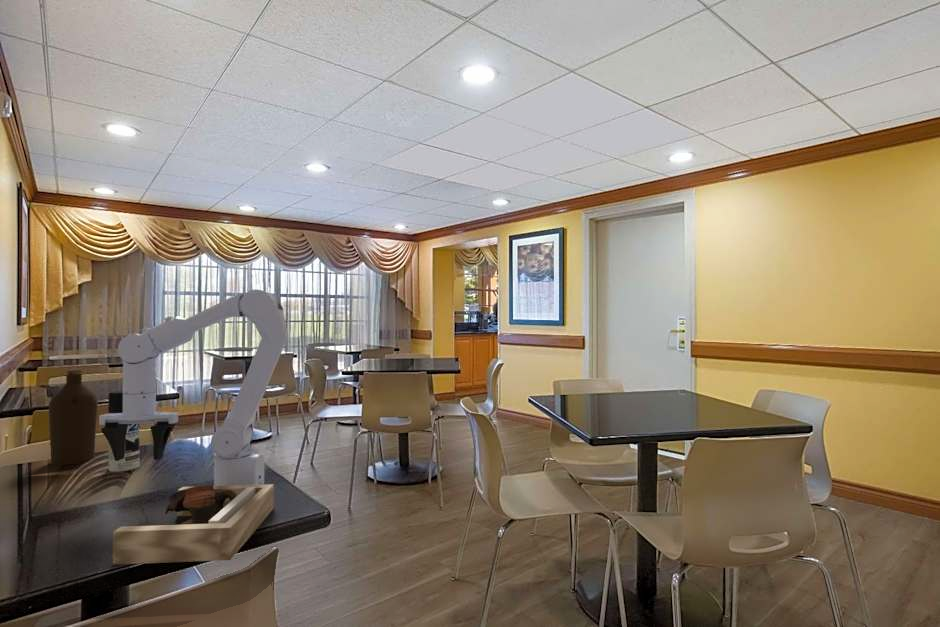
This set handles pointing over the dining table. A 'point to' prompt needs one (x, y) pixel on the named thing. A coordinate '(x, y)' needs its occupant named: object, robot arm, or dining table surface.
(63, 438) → the olive oil
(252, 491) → the pusher plate
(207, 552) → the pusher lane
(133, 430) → the spray can
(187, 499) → the pottery mug
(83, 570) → the dining table surface
